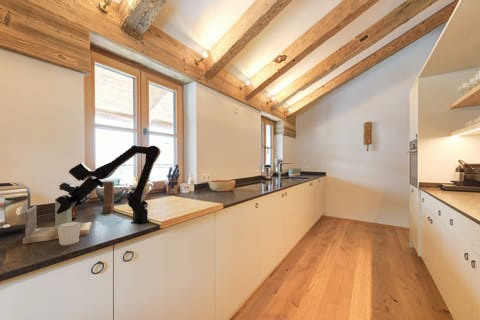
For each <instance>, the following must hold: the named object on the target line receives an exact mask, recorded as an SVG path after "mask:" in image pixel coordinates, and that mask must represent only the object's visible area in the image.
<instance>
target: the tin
mask: <svg viewBox="0 0 480 320" xmlns="http://www.w3.org/2000/svg"><path fill="white" fill-rule="evenodd" d="M77 216H78V208H77V206H76V207H73V208H72V219H76V218H77Z"/></svg>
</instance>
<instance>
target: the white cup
mask: <svg viewBox="0 0 480 320" xmlns="http://www.w3.org/2000/svg"><path fill="white" fill-rule="evenodd" d="M80 223H82V222H81V221H72V222H68V223H63V224H60V225H58V226H57V227H58V234H59V239H58V241H59V245H60V246H69V245H70V246H71V245H73V244H77V243H78V242H79V240H80V235H79V232H80Z"/></svg>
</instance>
